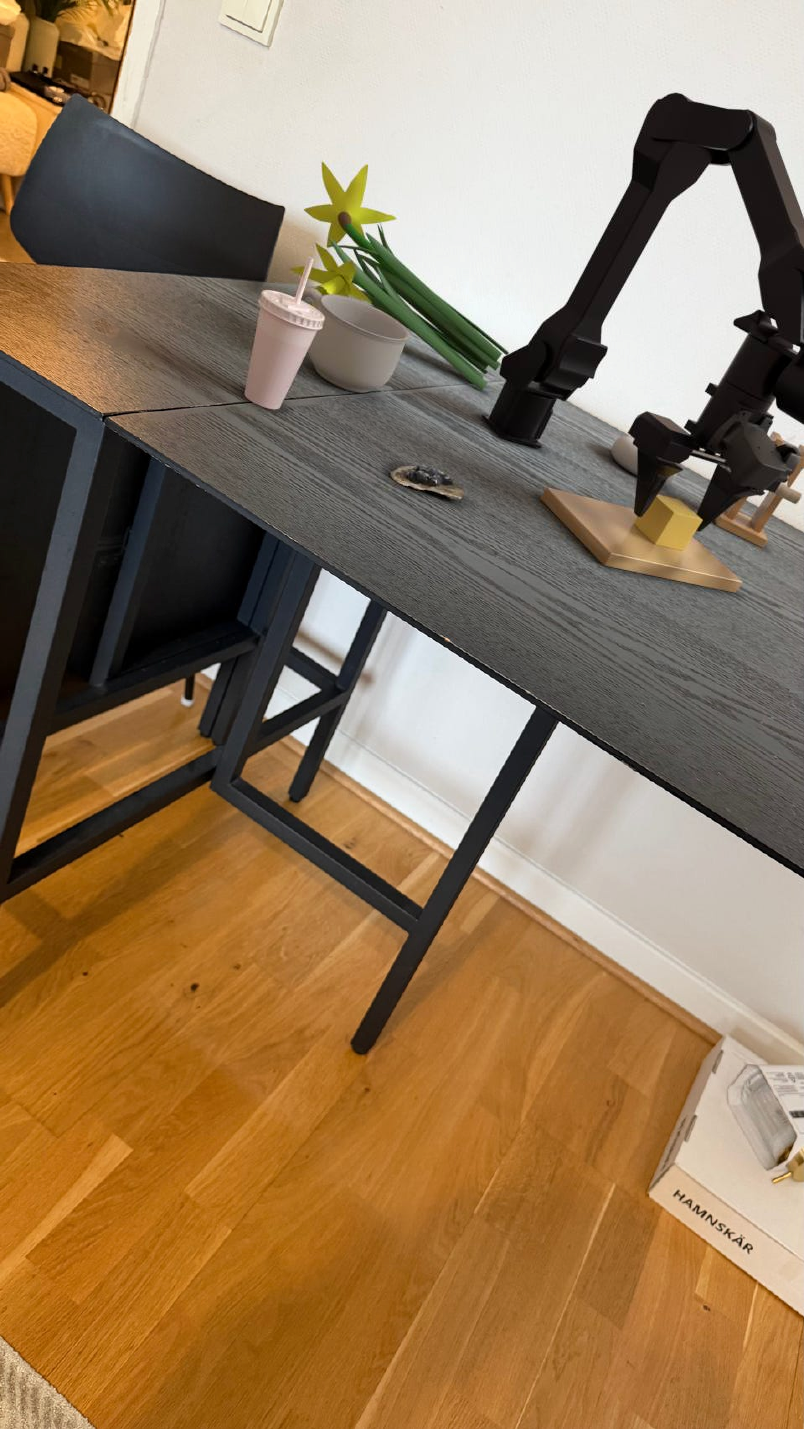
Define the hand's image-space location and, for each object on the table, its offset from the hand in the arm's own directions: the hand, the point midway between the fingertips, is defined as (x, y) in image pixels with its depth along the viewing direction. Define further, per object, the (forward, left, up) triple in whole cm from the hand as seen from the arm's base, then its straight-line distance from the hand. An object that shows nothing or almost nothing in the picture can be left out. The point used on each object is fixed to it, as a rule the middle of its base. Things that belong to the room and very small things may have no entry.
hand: (667, 522), depth 105 cm
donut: (+18, +27, -4) cm, 33 cm away
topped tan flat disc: (-29, +3, -4) cm, 29 cm away
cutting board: (-2, 0, -3) cm, 4 cm away
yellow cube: (0, 0, -2) cm, 2 cm away
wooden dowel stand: (+27, +14, -3) cm, 31 cm away
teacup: (-30, +30, -4) cm, 43 cm away
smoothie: (-43, +15, -4) cm, 46 cm away
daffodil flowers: (-13, +53, -4) cm, 55 cm away
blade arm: (+25, +11, +5) cm, 28 cm away
